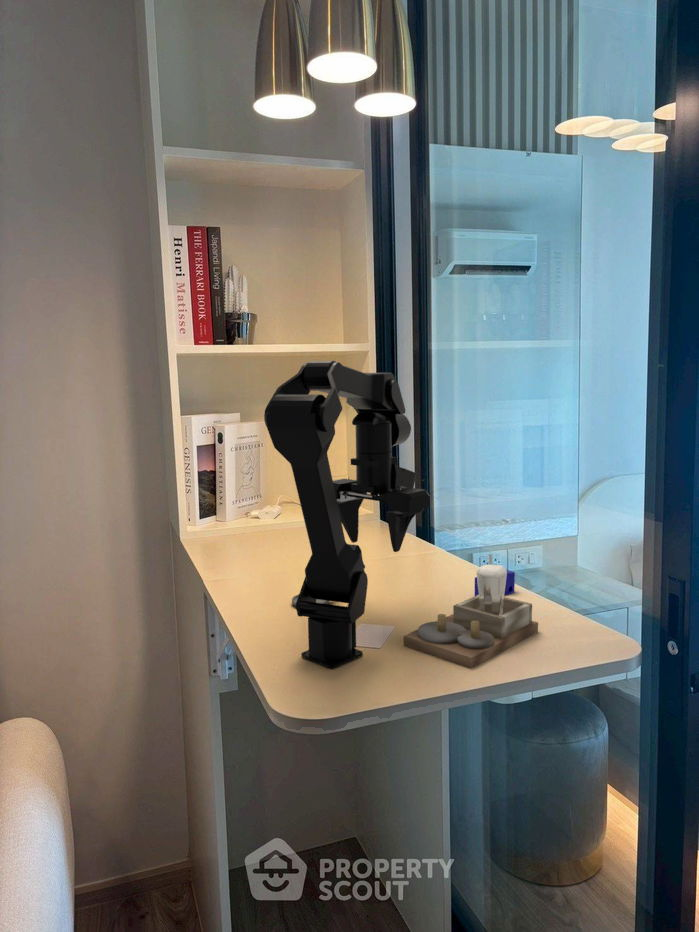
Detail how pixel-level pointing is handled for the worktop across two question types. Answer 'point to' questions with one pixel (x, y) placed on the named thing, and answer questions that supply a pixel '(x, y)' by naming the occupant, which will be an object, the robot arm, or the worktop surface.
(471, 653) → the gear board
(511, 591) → the cable holder
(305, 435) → the robot arm
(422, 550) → the worktop surface
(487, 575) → the milkshake
